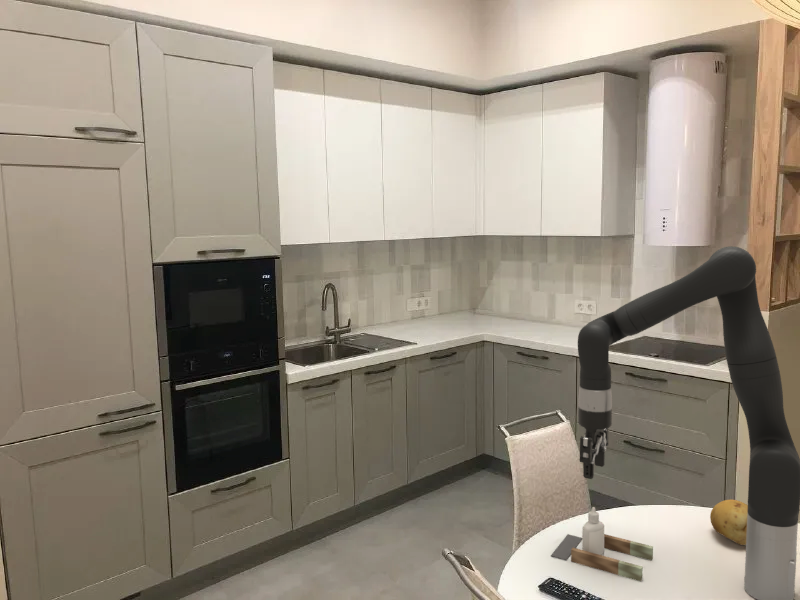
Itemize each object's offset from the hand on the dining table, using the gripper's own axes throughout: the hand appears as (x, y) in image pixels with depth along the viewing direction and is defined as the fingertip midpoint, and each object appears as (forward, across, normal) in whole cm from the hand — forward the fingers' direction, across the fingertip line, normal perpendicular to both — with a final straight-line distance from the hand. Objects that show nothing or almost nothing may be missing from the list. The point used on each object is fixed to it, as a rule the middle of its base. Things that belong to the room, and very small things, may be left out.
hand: (594, 471), depth 149 cm
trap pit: (+21, 0, +6) cm, 22 cm away
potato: (+21, +25, -28) cm, 43 cm away
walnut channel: (+21, 0, -4) cm, 21 cm away
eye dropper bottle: (+21, 0, 0) cm, 21 cm away
